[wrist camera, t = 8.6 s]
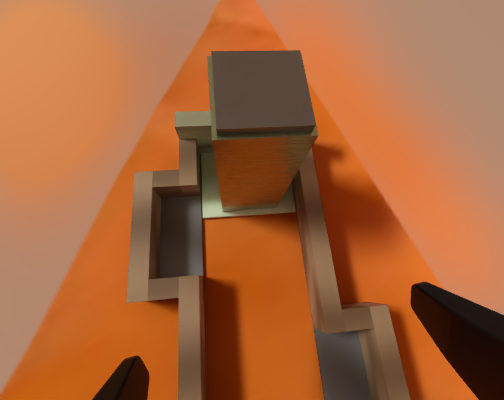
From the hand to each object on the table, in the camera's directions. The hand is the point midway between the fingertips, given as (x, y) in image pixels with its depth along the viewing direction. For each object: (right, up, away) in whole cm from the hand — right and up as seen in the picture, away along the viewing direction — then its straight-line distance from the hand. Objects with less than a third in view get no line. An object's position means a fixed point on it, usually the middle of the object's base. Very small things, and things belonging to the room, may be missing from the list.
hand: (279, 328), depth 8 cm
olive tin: (-1, +5, +12) cm, 13 cm away
